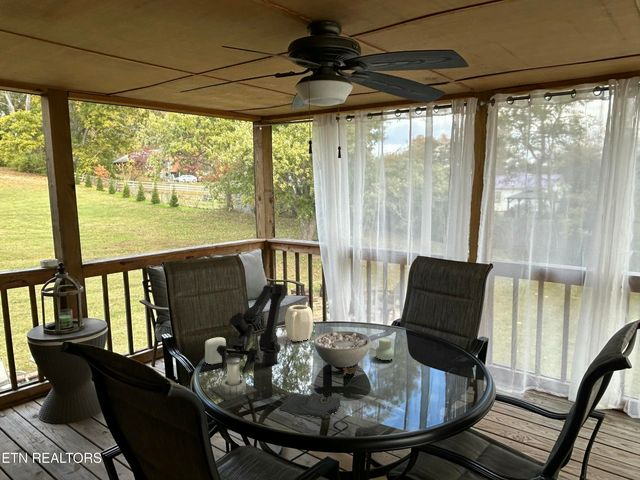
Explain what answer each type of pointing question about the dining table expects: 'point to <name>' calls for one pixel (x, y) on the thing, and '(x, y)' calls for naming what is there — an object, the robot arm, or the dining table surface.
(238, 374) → the cream bottle
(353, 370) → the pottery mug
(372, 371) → the dining table surface
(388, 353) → the air freshener
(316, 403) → the dark slate chunk
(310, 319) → the watering can
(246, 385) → the segmented ring base
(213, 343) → the photo printer
